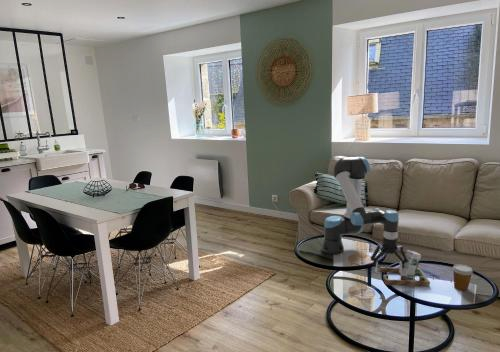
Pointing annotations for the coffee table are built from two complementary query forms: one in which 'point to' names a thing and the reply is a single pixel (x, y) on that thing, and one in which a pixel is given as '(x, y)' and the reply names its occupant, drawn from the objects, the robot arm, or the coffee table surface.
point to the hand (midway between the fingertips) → (388, 272)
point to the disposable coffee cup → (462, 277)
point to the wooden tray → (405, 278)
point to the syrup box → (411, 264)
